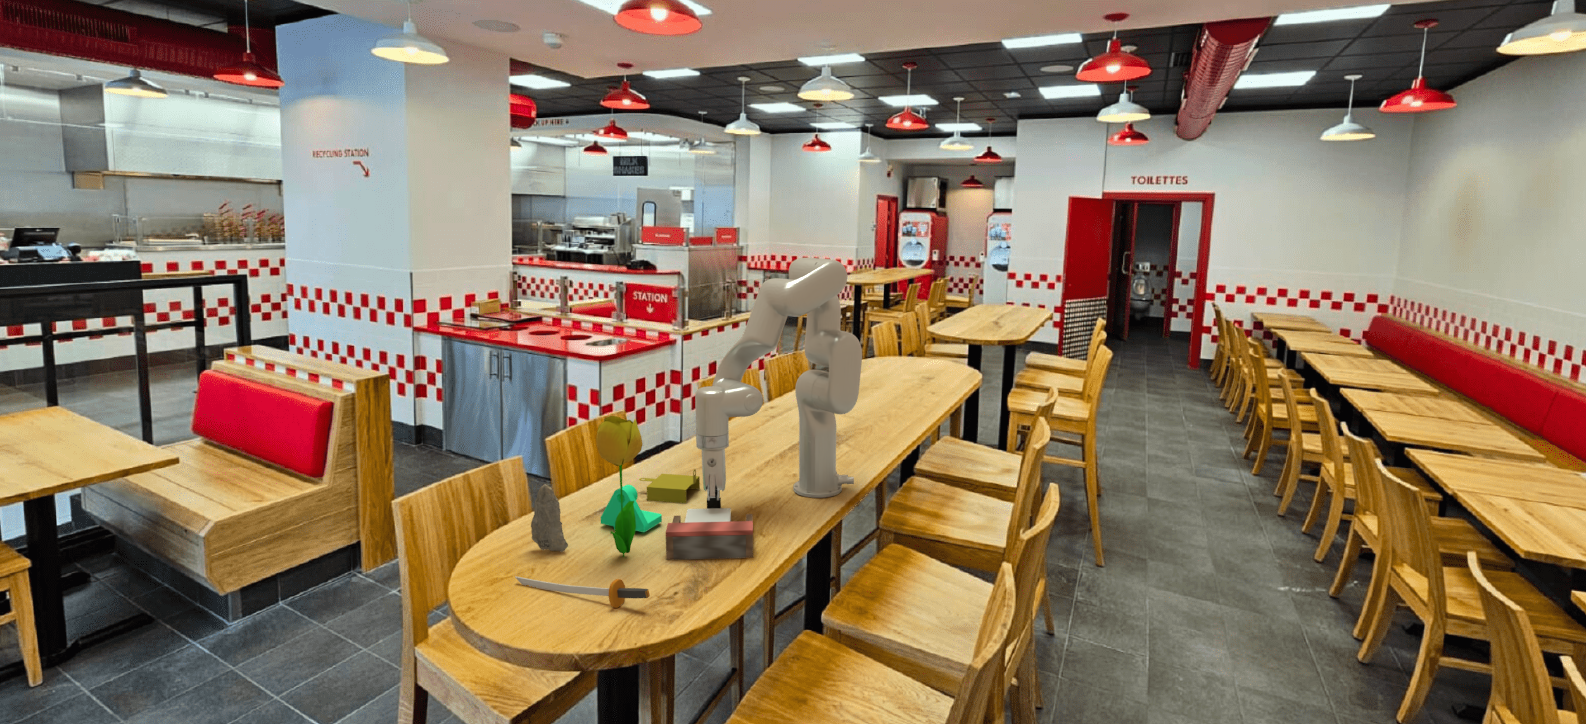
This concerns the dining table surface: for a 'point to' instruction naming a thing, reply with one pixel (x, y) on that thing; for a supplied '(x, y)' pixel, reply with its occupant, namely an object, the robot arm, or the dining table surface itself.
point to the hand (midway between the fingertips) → (714, 514)
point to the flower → (620, 469)
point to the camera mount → (643, 518)
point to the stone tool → (547, 521)
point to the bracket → (671, 487)
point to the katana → (592, 590)
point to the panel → (708, 515)
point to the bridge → (709, 539)
